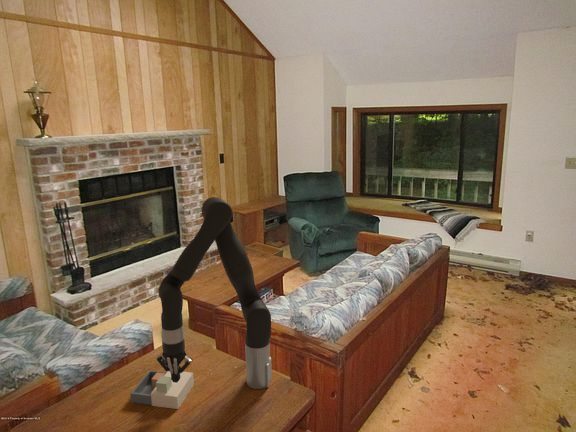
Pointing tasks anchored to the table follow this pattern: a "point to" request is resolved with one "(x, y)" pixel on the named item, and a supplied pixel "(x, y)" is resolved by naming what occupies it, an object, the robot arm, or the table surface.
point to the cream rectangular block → (173, 392)
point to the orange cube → (156, 378)
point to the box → (144, 389)
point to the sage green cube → (164, 384)
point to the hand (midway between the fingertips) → (175, 381)
